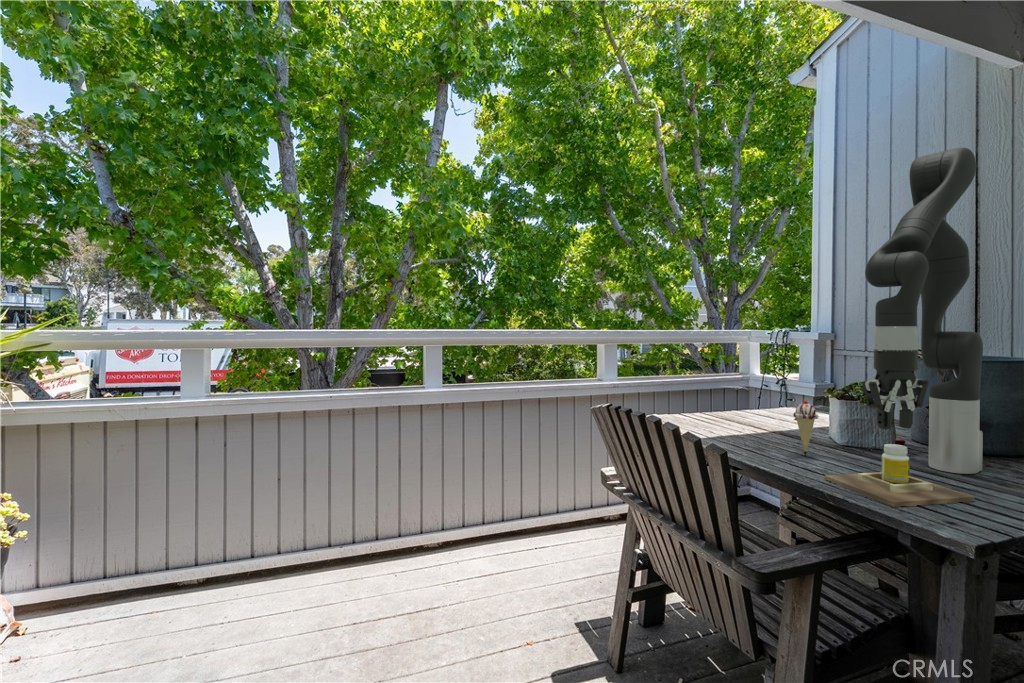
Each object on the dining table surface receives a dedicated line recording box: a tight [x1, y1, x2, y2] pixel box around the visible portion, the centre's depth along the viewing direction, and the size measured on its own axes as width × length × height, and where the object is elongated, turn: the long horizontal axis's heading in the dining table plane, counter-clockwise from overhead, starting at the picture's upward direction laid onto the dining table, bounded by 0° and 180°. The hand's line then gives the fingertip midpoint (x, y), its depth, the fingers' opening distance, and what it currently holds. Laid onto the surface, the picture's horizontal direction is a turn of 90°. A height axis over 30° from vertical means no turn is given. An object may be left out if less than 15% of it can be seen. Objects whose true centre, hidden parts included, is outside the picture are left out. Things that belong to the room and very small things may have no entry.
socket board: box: [824, 471, 976, 508], centre depth 109 cm, size 18×18×2 cm
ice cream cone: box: [793, 400, 819, 457], centre depth 136 cm, size 6×6×15 cm
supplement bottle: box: [881, 443, 910, 484], centre depth 108 cm, size 5×5×8 cm
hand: (894, 427), depth 108 cm, fingers open, 4 cm apart
